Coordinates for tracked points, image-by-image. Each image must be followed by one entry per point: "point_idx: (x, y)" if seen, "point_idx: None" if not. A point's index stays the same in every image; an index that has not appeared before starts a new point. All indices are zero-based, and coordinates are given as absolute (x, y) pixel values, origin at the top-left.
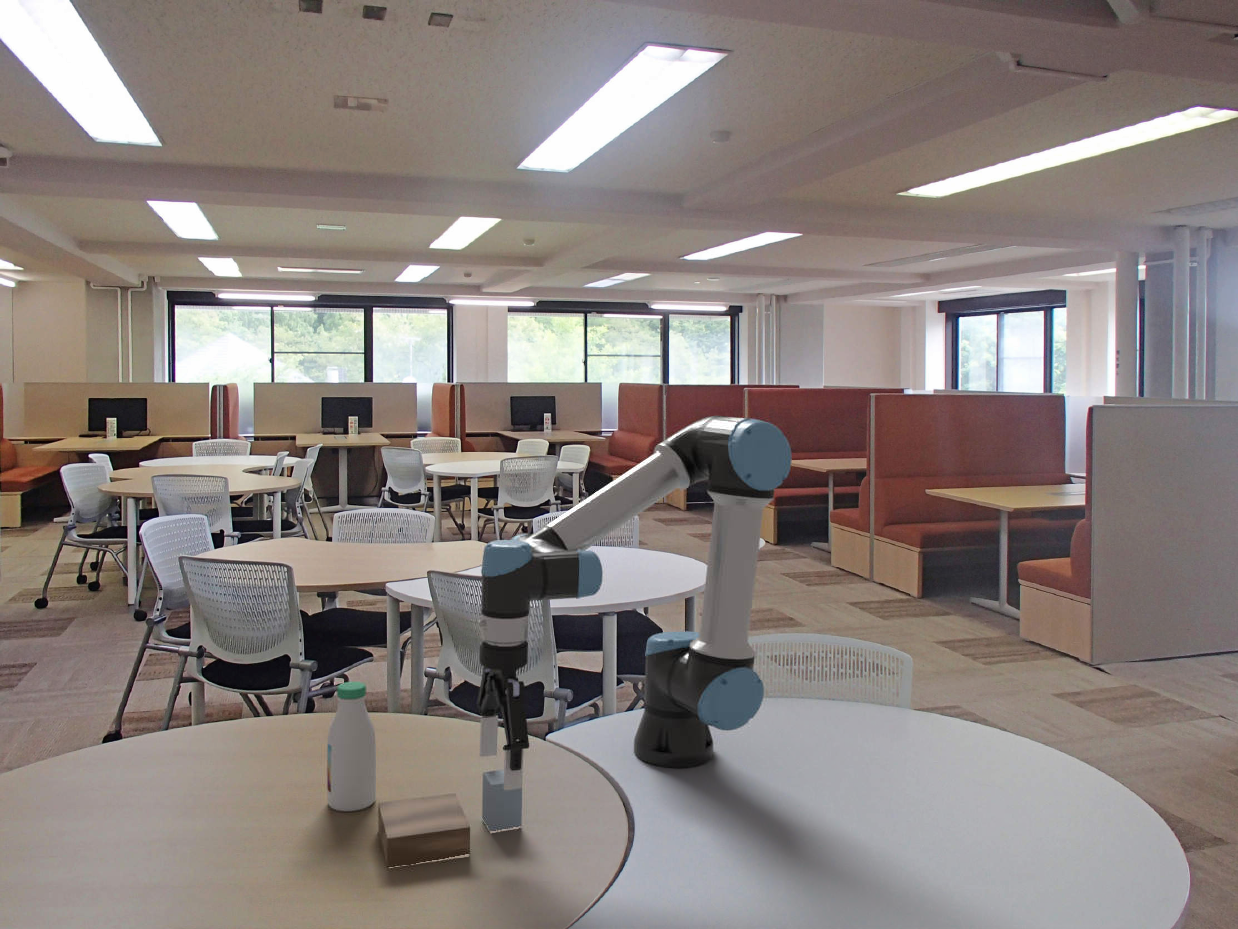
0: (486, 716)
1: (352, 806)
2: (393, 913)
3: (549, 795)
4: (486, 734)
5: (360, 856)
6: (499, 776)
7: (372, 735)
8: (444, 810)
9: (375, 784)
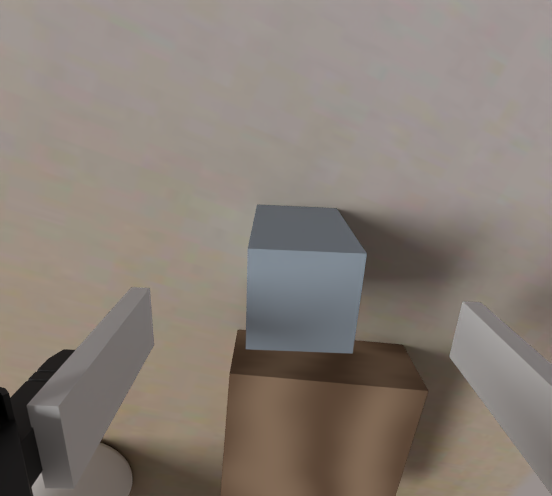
0: (43, 461)
1: (130, 487)
2: (504, 481)
3: (171, 54)
4: (114, 387)
5: None
6: (301, 313)
7: None
8: (315, 416)
9: None
